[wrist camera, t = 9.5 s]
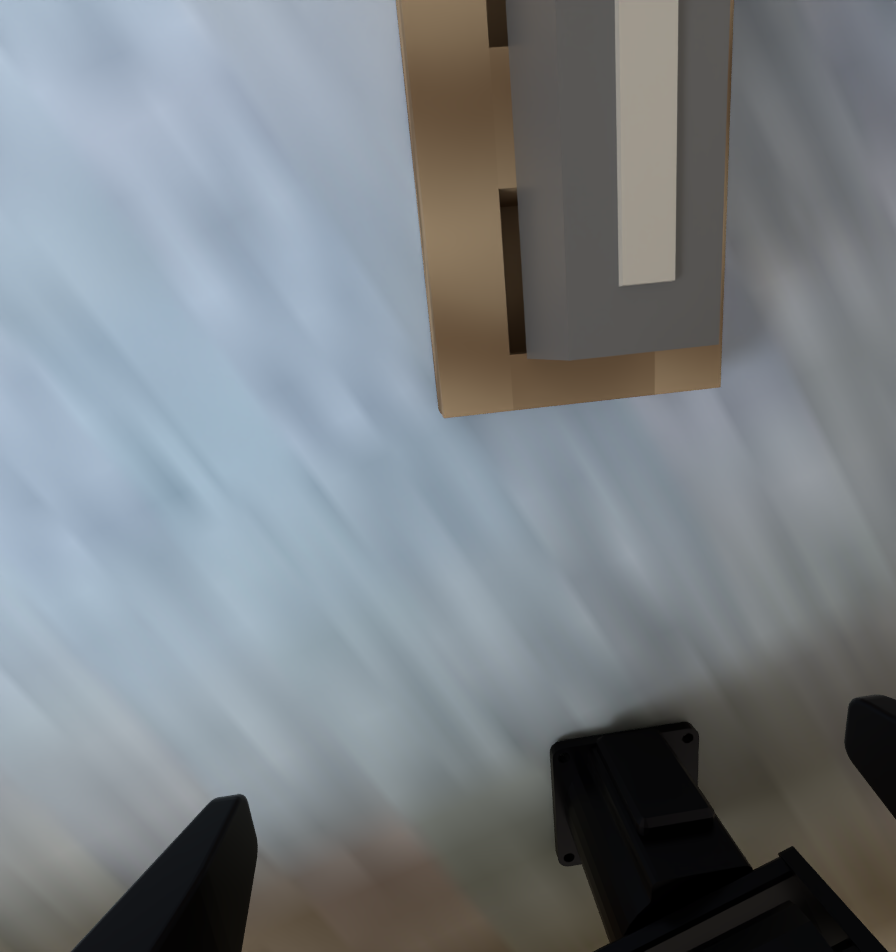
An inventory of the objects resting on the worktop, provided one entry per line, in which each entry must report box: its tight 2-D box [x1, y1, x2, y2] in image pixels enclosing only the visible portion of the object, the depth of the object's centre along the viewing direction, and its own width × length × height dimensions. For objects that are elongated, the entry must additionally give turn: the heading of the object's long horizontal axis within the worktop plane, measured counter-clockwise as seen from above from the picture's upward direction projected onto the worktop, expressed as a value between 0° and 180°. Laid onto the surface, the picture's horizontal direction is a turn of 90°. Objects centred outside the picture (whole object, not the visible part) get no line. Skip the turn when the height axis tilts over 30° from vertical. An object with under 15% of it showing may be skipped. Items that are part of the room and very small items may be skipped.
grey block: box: [506, 0, 730, 361], centre depth 13 cm, size 13×4×6 cm, turn 6°
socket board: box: [396, 0, 734, 418], centre depth 15 cm, size 16×9×2 cm, turn 6°
